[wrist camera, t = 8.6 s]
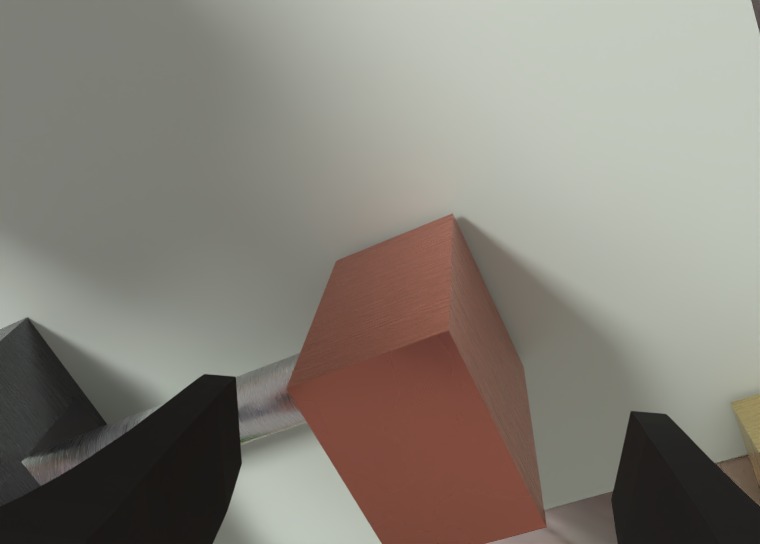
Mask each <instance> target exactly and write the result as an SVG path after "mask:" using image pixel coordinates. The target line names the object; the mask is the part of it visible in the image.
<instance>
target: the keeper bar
mask: <svg viewBox="0 0 760 544" xmlns="http://www.w3.org/2000/svg"><path fill="white" fill-rule="evenodd" d="M731 406H732V409H733V412H734V415H735V418H736V421H737V423H738V426H739V429H740V432H741V435H742V438H743V441H744V444H745V447H746V450H747V453H748V456H749V459H750V461H751V464H752V467H753V470H754V473H755V476H756V479H757V482H758V485H759V488H760V394H758V395H755V396H751V397H748V398H745V399H741V400H738V401H734V402H731Z"/></svg>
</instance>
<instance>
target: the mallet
mask: <svg viewBox="0 0 760 544" xmlns="http://www.w3.org/2000/svg"><path fill="white" fill-rule="evenodd" d="M236 387H237V401H238V416H239V430H240V444H241V445H242V444H245V443H248V442H251V441H253V440H256V439H259V438H262V437H265V436H268V435H271V434H274V433H277V432H280V431H283V430H286V429H289V428H292V427H294V426H297V425H300V424H303V423H306V422H307V423H308V425H309V427H310V428H311V430H312V431H313V433H314V435H315V436H316V438H317V440H318V441H319V443H320V444H321V446H322V448H323V449H324V451H325V453H326V454H327V456H328V457H329V459H330V461H331V462H332V464H333V466H334V467H335V469H336V470H337V472H338V474H339V475H340V477H341V479H342V480H343V482H344V483H345V485H346V487H347V488H348V490H349V491H350V493H351V495H352V496H353V498H354V500H355V501H356V503H357V504H358V506H359V508H360V509H361V511H362V513H363V514H364V516H365V517H366V519H367V521H368V522H369V524H370V526H371V527H372V529H373V530H374V532H375V534H376V535H377V537H378V539H379V540H380V542H381V543H382V544H486V543H489V542H493V541H497V540H501V539H504V538H508V537H512V536H516V535H519V534H523V533H527V532H530V531H534V530H538V529H542V528H545V527H546V520H545V513H544V506H543V499H542V492H541V484H540V477H539V470H538V463H537V456H536V449H535V442H534V435H533V428H532V421H531V414H530V407H529V400H528V393H527V386H526V379H525V372H524V366H523V364H522V362H521V360H520V358H519V355H518V353H517V351H516V349H515V347H514V345H513V342H512V340H511V338H510V336H509V334H508V332H507V329H506V327H505V325H504V323H503V321H502V319H501V316H500V314H499V312H498V310H497V308H496V306H495V303H494V301H493V299H492V297H491V295H490V293H489V290H488V288H487V286H486V284H485V282H484V280H483V277H482V275H481V273H480V271H479V269H478V267H477V264H476V262H475V260H474V258H473V256H472V254H471V251H470V249H469V247H468V245H467V243H466V241H465V238H464V236H463V234H462V232H461V230H460V228H459V226H458V223H457V221H456V219H455V217H454V215H453V213H452V214H450V215H447V216H445V217H442V218H440V219H437V220H435V221H432V222H430V223H428V224H425V225H423V226H420V227H418V228H415V229H413V230H410V231H408V232H405V233H403V234H401V235H398V236H396V237H393V238H391V239H388V240H386V241H383V242H381V243H378V244H376V245H374V246H371V247H369V248H366V249H364V250H361V251H359V252H356V253H354V254H351V255H349V256H347V257H344V258H342V259H339V260H337V261H336V262H335V265H334V267H333V270H332V273H331V275H330V278H329V280H328V283H327V285H326V288H325V291H324V293H323V296H322V298H321V301H320V303H319V306H318V308H317V311H316V314H315V316H314V319H313V321H312V324H311V326H310V329H309V332H308V334H307V337H306V339H305V342H304V344H303V347H302V350H301V352H300V353H298V354H296V355H293V356H290V357H288V358H285V359H282V360H280V361H277V362H274V363H272V364H269V365H266V366H263V367H261V368H258V369H255V370H253V371H250V372H247V373H245V374H242V375H239V376H237V377H236ZM164 404H165V403H164ZM164 404H162V405H164ZM162 405H159V406H156V407H154V408H151V409H148V410H146V411H143V412H140V413H138V414H135V415H132V416H130V417H127V418H124V419H122V420H119V421H116V422H113V423H111V424H108V425H105V426H103V427H100V428H97V429H95V430H92V431H89V432H87V433H84V434H81V435H79V436H76V437H73V438H71V439H68V440H65V441H63V442H60V443H57V444H55V445H52V446H49V447H47V448H44V449H41V450H39V451H36V452H33V453H30V454H28V455H27V456H26V457H25V459H24V460H23V461H22V464H23V465H24V466H25V467H26V468H27V470H28V471H29V472H30V473H31V474H32V476H33V477H34V478H35V479H36V481H37V482H38V483H39V484H40V485H41V486H42V485H43V484H45V483H47V482H49V481H51V480H53V479H54V478H56V477H58V476H60V475H61V474H63V473H65V472H66V471H68V470H70V469H71V468H73V467H75V466H76V465H78V464H80V463H81V462H83V461H84V460H86V459H87V458H89V457H90V456H92V455H93V454H95V453H96V452H98V451H99V450H101V449H102V448H104V447H105V446H107V445H108V444H110V443H111V442H113V441H114V440H116V439H117V438H119V437H120V436H122V435H123V434H124V433H126V432H127V431H129V430H130V429H132V428H133V427H134V426H136V425H137V424H138V423H140V422H141V421H142V420H144V419H145V418H146V417H148V416H149V415H150V414H152V413H153V412H154V411H156V410H157V409H158V408H160V407H161V406H162Z"/></svg>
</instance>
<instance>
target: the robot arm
mask: <svg viewBox="0 0 760 544" xmlns="http://www.w3.org/2000/svg"><path fill="white" fill-rule="evenodd" d="M241 465H242V458H241V444H240V430H239V416H238V401H237V387H236V377H234V376H222V375H211V374H203V375H202V376H201V377H199V378H198V379H196V380H195V381H194V382H192V383H191V384H190V385H188V386H187V387H186V388H184V389H183V390H182V391H181V392H179V393H178V394H177V395H175V396H174V397H173V398H172V399H170V400H169V401H168V402H166V403H165V404H164V405H162V406H161V407H160V408H158V409H157V410H156V411H154V412H153V413H152V414H150V415H149V416H148V417H146V418H145V419H144V420H142V421H141V422H140V423H138V424H137V425H136V426H134V427H133V428H132V429H130V430H129V431H127V432H126V433H124V434H123V435H122V436H120V437H119V438H117V439H116V440H114V441H113V442H111V443H110V444H108V445H107V446H105V447H104V448H102V449H101V450H99V451H98V452H96V453H95V454H93V455H92V456H90V457H89V458H87V459H86V460H84V461H83V462H81V463H80V464H78V465H76V466H75V467H73V468H71V469H70V470H68V471H66V472H65V473H63V474H61V475H60V476H58V477H56V478H54V479H53V480H51V481H49V482H47V483H45V484H43V485H42V486H40V487H38V488H36V489H34V490H33V491H31V492H29V493H27V494H25V495H23V496H21V497H19V498H17V499H15V500H13V501H11V502H9V503H7V504H5V505H2V506H0V544H213V542H214V540H215V538H216V536H217V533H218V531H219V529H220V527H221V525H222V522H223V520H224V518H225V515H226V513H227V510H228V507H229V504H230V501H231V498H232V495H233V492H234V489H235V485H236V482H237V478H238V475H239V472H240V468H241ZM611 500H612V507H613V514H614V521H615V528H616V535H617V541H618V544H760V507H759V506H758V505H757V504H756V503H755V502H754V501H753V500H752V499H751V498H750V497H749V496H748V495H747V494H746V493H744V492H743V491H742V490H741V489H740V488H739V487H738V486H737V485H736V484H735V483H734V482H733V481H732V480H731V479H730V478H729V477H728V476H727V475H726V474H725V473H724V472H723V471H722V470H721V469H720V468H719V467H718V466H717V465H716V464H715V463H714V462H713V461H712V460H711V459H710V458H709V457H708V456H707V455H706V454H705V453H704V452H703V451H702V450H701V449H700V448H699V447H698V446H697V445H696V444H695V443H694V441H693V440H692V439H691V438H690V437H689V436H688V435H687V434H686V433H685V432H684V431H683V430H682V429H681V428H680V427H679V426H678V425H677V424H676V423H675V422H674V421H673V420H672V419H671V418H670V417H669V416H668V415H667V414H661V413H650V412H638V411H631V412H630V417H629V421H628V426H627V430H626V435H625V440H624V444H623V449H622V453H621V458H620V463H619V467H618V472H617V476H616V481H615V485H614V490H613V495H612V499H611Z"/></svg>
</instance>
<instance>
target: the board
mask: <svg viewBox="0 0 760 544" xmlns="http://www.w3.org/2000/svg"><path fill="white" fill-rule="evenodd" d="M452 213H453V215H454V217H455V219H456V221H457V223H458V226H459V228H460V230H461V232H462V234H463V236H464V238H465V241H466V243H467V245H468V247H469V249H470V251H471V254H472V256H473V258H474V260H475V262H476V264H477V267H478V269H479V271H480V273H481V275H482V277H483V280H484V282H485V284H486V286H487V288H488V290H489V293H490V295H491V297H492V299H493V301H494V303H495V306H496V308H497V310H498V312H499V314H500V316H501V319H502V321H503V323H504V325H505V327H506V329H507V332H508V334H509V336H510V338H511V340H512V342H513V345H514V347H515V349H516V351H517V353H518V355H519V358H520V360H521V362H522V364H523V366H524V372H525V379H526V386H527V393H528V400H529V407H530V414H531V421H532V428H533V435H534V442H535V449H536V456H537V463H538V470H539V477H540V484H541V492H542V499H543V506H544V510H546V509H550V508H554V507H557V506H561V505H565V504H568V503H572V502H576V501H579V500H583V499H586V498H590V497H594V496H597V495H601V494H605V493H608V492H612V491H613V490H614V485H615V481H616V476H617V472H618V467H619V463H620V458H621V453H622V449H623V444H624V440H625V435H626V430H627V426H628V421H629V417H630V412H631V411H638V412H650V413H661V414H667V415H668V416H669V417H670V418H671V419H672V420H673V421H674V422H675V423H676V424H677V425H678V426H679V427H680V428H681V429H682V430H683V431H684V432H685V433H686V434H687V435H688V436H689V437H690V438H691V439H692V440H693V441H694V443H695V444H696V445H697V446H698V447H699V448H700V449H701V450H702V451H703V452H704V453H705V454H706V455H707V456H708V457H709V458H710V459H711V460H712V461H713V462H714V463H718V462H721V461H725V460H729V459H732V458H736V457H740V456H743V455H747V454H748V453H747V450H746V447H745V444H744V441H743V438H742V435H741V432H740V429H739V426H738V423H737V421H736V418H735V415H734V412H733V409H732V406H731V402H734V401H738V400H741V399H745V398H748V397H751V396H755V395H758V394H760V32H759V28H758V25H757V21H756V17H755V13H754V9H753V6H752V2H751V0H0V329H2V328H4V327H6V326H8V325H11V324H13V323H15V322H17V321H20V320H22V319H24V318H27V317H28V318H29V320H30V321H31V322H32V324H33V325H34V327H35V328H36V329H37V331H38V332H39V333H40V335H41V336H42V337H43V339H44V340H45V341H46V343H47V344H48V345H49V347H50V348H51V349H52V351H53V352H54V353H55V355H56V356H57V357H58V359H59V360H60V361H61V363H62V364H63V365H64V367H65V368H66V369H67V371H68V372H69V374H70V375H71V376H72V378H73V379H74V380H75V382H76V383H77V384H78V386H79V387H80V388H81V390H82V391H83V392H84V394H85V395H86V396H87V398H88V399H89V400H90V402H91V403H92V404H93V406H94V407H95V408H96V410H97V411H98V412H99V414H100V415H101V416H102V418H103V419H104V421H105V422H106V423H107V425H108V424H111V423H113V422H116V421H119V420H122V419H124V418H127V417H130V416H132V415H135V414H138V413H140V412H143V411H146V410H148V409H151V408H154V407H156V406H159V405H162V404H164V403H166V402H168V401H169V400H170V399H172V398H173V397H174V396H175V395H177V394H178V393H179V392H181V391H182V390H183V389H184V388H186V387H187V386H188V385H190V384H191V383H192V382H194V381H195V380H196V379H198V378H199V377H201V376H202V375H203V374H211V375H222V376H234V377H237V376H239V375H242V374H245V373H247V372H250V371H253V370H255V369H258V368H261V367H263V366H266V365H269V364H272V363H274V362H277V361H280V360H282V359H285V358H288V357H290V356H293V355H296V354H298V353H300V352H301V350H302V347H303V344H304V342H305V339H306V337H307V334H308V332H309V329H310V326H311V324H312V321H313V319H314V316H315V314H316V311H317V308H318V306H319V303H320V301H321V298H322V296H323V293H324V291H325V288H326V285H327V283H328V280H329V278H330V275H331V273H332V270H333V267H334V265H335V262H336V261H337V260H339V259H342V258H344V257H347V256H349V255H351V254H354V253H356V252H359V251H361V250H364V249H366V248H369V247H371V246H374V245H376V244H378V243H381V242H383V241H386V240H388V239H391V238H393V237H396V236H398V235H401V234H403V233H405V232H408V231H410V230H413V229H415V228H418V227H420V226H423V225H425V224H428V223H430V222H432V221H435V220H437V219H440V218H442V217H445V216H447V215H450V214H452ZM241 458H242V465H241V468H240V472H239V475H238V478H237V482H236V485H235V489H234V492H233V495H232V498H231V501H230V504H229V507H228V510H227V513H226V515H225V518H224V520H223V522H222V525H221V527H220V529H219V531H218V533H217V536H216V538H215V540H214V542H213V544H382V543H381V542H380V540H379V539H378V537H377V535H376V534H375V532H374V530H373V529H372V527H371V526H370V524H369V522H368V521H367V519H366V517H365V516H364V514H363V513H362V511H361V509H360V508H359V506H358V504H357V503H356V501H355V500H354V498H353V496H352V495H351V493H350V491H349V490H348V488H347V487H346V485H345V483H344V482H343V480H342V479H341V477H340V475H339V474H338V472H337V470H336V469H335V467H334V466H333V464H332V462H331V461H330V459H329V457H328V456H327V454H326V453H325V451H324V449H323V448H322V446H321V444H320V443H319V441H318V440H317V438H316V436H315V435H314V433H313V431H312V430H311V428H310V427H309V425H308V423H307V422H306V423H303V424H300V425H297V426H294V427H292V428H289V429H286V430H283V431H280V432H277V433H274V434H271V435H268V436H265V437H262V438H259V439H256V440H253V441H251V442H248V443H245V444H242V445H241Z"/></svg>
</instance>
